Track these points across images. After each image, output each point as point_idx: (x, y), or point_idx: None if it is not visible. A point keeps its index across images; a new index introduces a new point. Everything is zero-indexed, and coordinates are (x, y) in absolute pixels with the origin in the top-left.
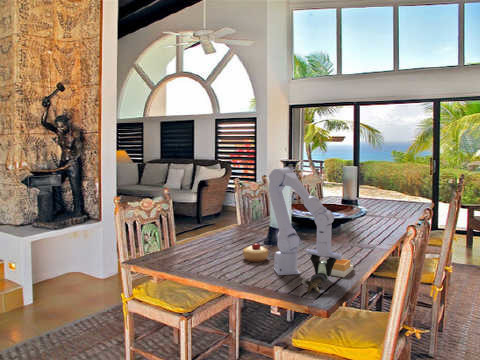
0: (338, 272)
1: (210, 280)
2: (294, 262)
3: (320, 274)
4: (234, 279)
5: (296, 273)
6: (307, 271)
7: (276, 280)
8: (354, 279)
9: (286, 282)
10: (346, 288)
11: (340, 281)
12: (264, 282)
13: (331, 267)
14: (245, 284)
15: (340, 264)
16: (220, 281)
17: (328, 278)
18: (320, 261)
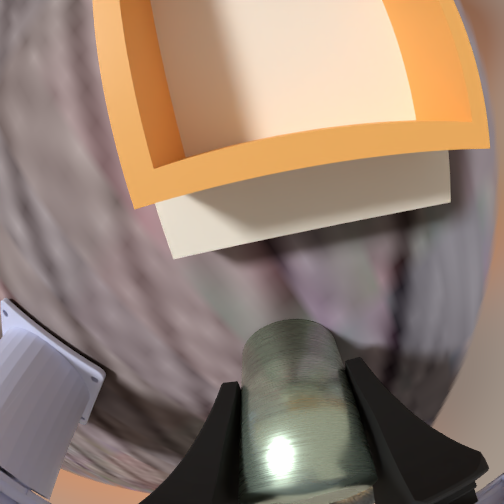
0: (389, 209)
1: (76, 471)
2: (62, 442)
3: (364, 500)
4: (83, 464)
5: (100, 387)
6: (74, 289)
7: (137, 453)
8: (486, 176)
9: (179, 456)
10: (460, 353)
11: (422, 297)
12: (137, 468)
13: (391, 416)
14: (129, 479)
15: (440, 147)
16: (88, 473)
17: (337, 348)
18: (264, 500)
